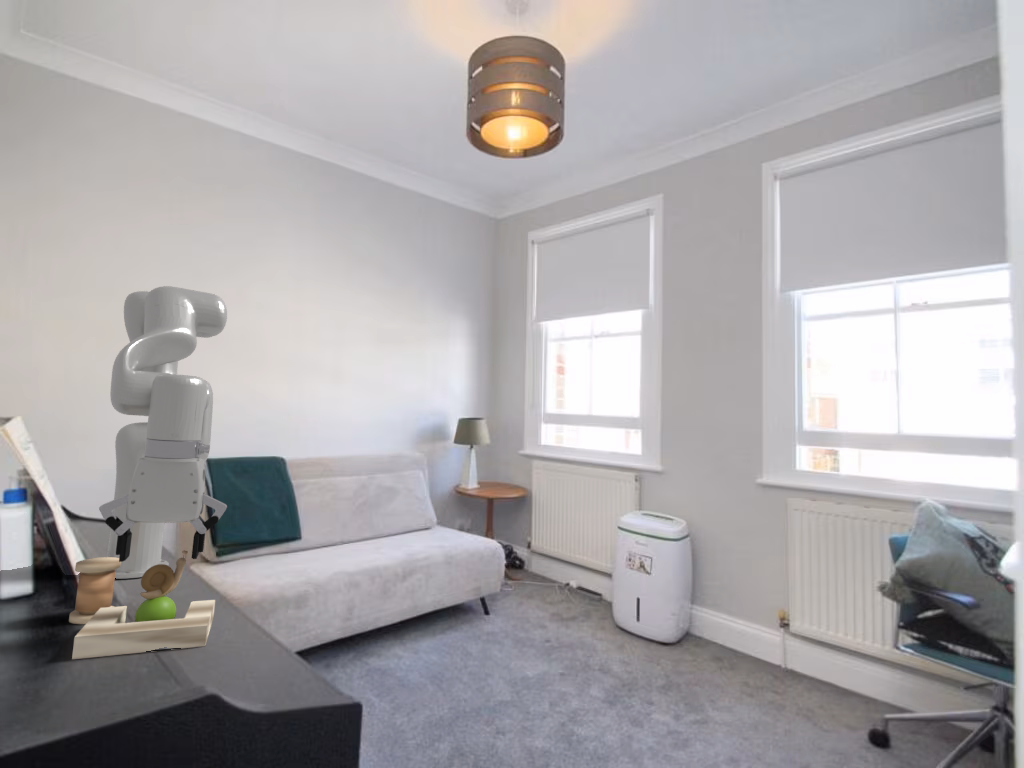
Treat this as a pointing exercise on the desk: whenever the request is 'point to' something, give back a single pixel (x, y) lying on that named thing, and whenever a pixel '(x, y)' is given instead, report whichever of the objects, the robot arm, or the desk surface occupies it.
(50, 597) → the desk surface
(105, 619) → the notched board
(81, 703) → the desk surface
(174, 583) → the snail figurine
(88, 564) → the bobbin
